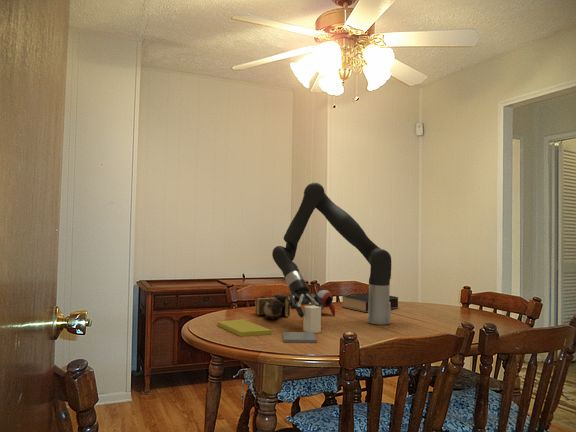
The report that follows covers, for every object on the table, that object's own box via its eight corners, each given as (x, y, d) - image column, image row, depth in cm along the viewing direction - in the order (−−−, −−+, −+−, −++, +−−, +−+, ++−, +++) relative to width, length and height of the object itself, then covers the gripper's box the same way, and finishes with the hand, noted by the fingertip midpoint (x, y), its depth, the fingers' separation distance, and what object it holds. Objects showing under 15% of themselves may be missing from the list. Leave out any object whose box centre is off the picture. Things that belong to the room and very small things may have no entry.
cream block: (313, 329, 184) (313, 305, 185) (320, 332, 180) (321, 307, 180) (303, 330, 182) (303, 306, 182) (310, 333, 177) (311, 308, 178)
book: (398, 309, 240) (398, 297, 240) (365, 313, 225) (365, 300, 225) (374, 304, 254) (374, 292, 254) (341, 308, 239) (342, 296, 239)
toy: (332, 325, 215) (339, 298, 212) (302, 319, 215) (308, 292, 211) (330, 311, 229) (336, 286, 226) (301, 305, 229) (308, 280, 225)
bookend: (278, 294, 222) (300, 296, 200) (278, 316, 221) (300, 320, 199) (251, 294, 216) (271, 296, 194) (251, 317, 215) (270, 321, 193)
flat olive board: (217, 326, 187) (243, 339, 167) (217, 321, 188) (243, 333, 167) (243, 324, 194) (271, 335, 174) (243, 319, 194) (271, 330, 174)
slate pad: (313, 334, 175) (313, 332, 175) (316, 342, 163) (316, 339, 163) (282, 334, 174) (282, 331, 174) (283, 342, 162) (284, 339, 162)
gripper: (286, 279, 185) (300, 311, 175) (313, 277, 193) (329, 308, 183) (279, 290, 190) (293, 322, 180) (306, 288, 197) (321, 319, 187)
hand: (311, 315), depth 181 cm, fingers open, 8 cm apart
